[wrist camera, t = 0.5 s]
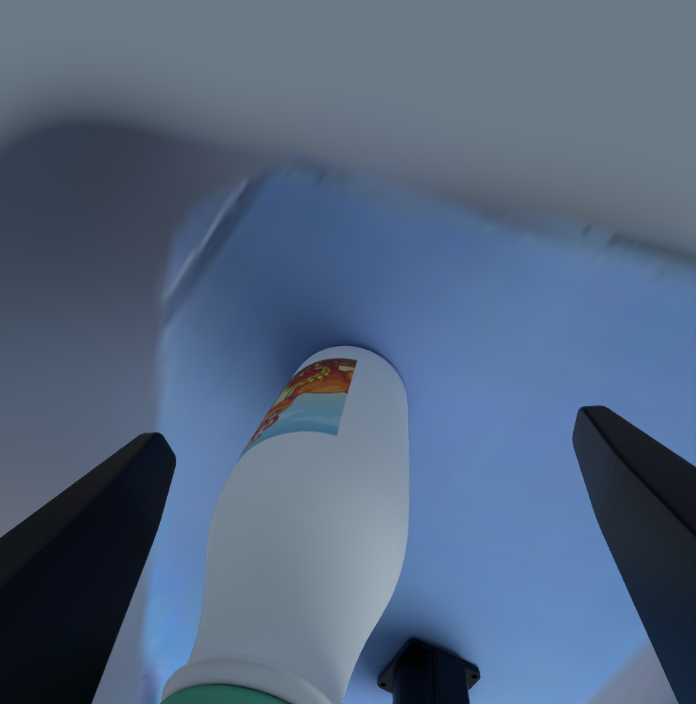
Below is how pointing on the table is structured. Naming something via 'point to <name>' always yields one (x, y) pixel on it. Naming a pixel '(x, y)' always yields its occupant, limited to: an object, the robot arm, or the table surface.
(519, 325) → the table surface
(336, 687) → the milk bottle
